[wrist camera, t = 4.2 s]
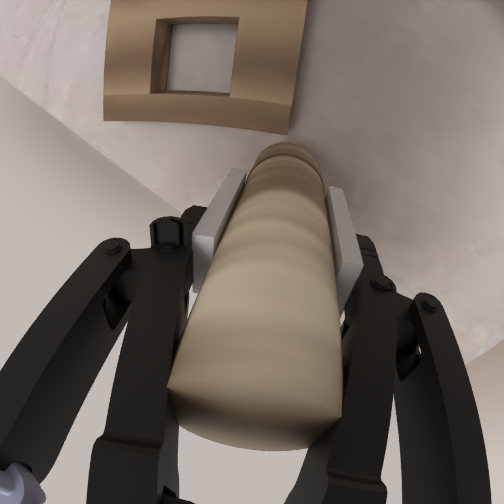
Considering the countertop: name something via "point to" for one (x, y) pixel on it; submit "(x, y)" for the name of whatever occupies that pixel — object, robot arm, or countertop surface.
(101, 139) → the countertop surface
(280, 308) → the peg
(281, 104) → the board
